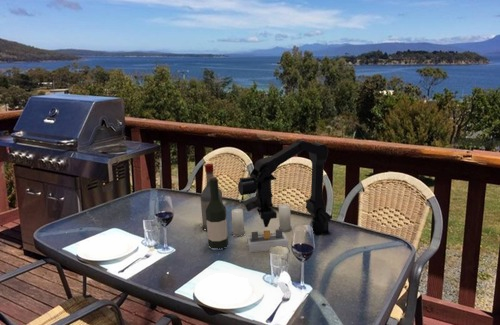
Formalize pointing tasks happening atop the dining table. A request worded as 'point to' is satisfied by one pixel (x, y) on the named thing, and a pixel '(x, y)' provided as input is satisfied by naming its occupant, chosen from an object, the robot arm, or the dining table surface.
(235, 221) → the post
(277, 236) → the paddle
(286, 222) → the post
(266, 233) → the block
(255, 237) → the paddle
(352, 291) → the dining table surface
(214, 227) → the wine bottle
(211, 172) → the liquor
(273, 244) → the box
